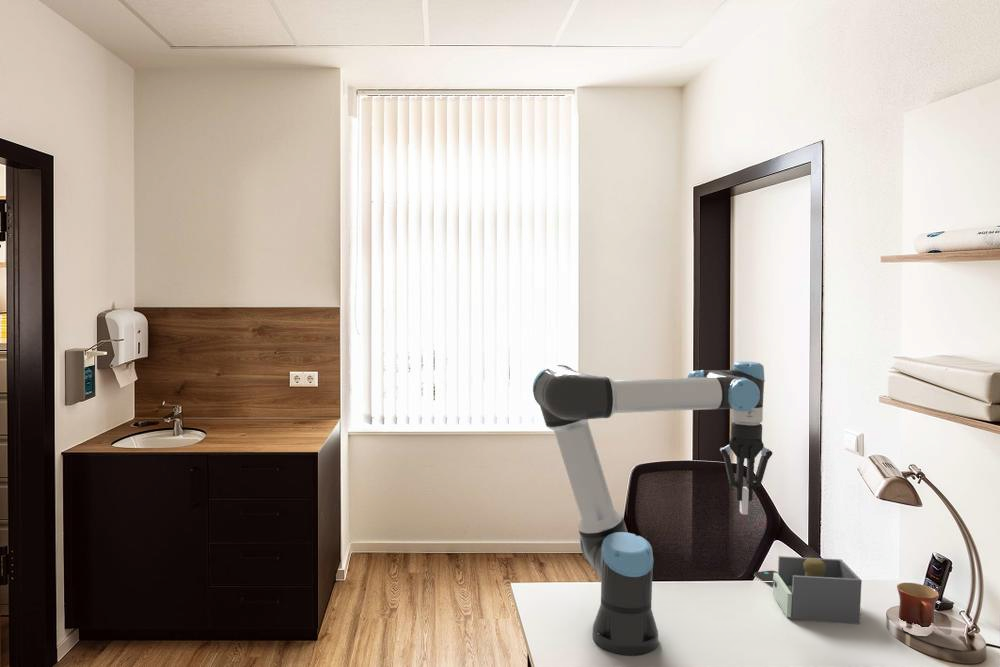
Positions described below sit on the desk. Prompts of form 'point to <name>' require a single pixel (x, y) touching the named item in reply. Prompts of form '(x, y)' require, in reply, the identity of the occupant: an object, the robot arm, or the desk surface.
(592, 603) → the desk surface
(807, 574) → the cork
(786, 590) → the pale green drawer
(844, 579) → the grey drawer box
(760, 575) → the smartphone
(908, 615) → the mug
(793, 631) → the desk surface
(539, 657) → the desk surface
